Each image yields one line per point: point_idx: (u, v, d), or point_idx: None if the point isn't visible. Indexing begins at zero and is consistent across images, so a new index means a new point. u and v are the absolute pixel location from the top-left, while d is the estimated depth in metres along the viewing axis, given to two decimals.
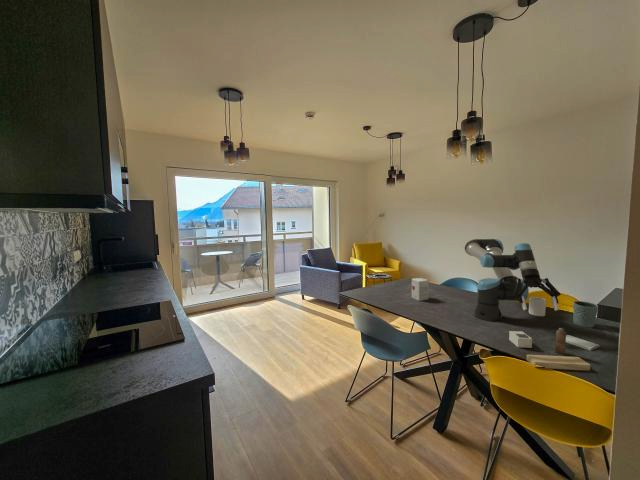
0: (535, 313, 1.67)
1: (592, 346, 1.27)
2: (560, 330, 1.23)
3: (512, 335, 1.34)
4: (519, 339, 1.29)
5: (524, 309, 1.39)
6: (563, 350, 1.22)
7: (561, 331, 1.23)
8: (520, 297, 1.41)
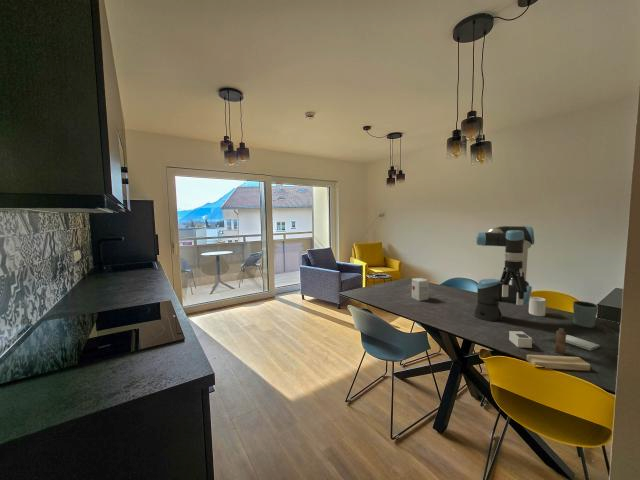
0: (535, 313, 1.67)
1: (592, 346, 1.27)
2: (560, 330, 1.23)
3: (512, 335, 1.34)
4: (519, 339, 1.29)
5: (504, 296, 1.48)
6: (563, 350, 1.22)
7: (561, 331, 1.23)
8: (503, 285, 1.48)
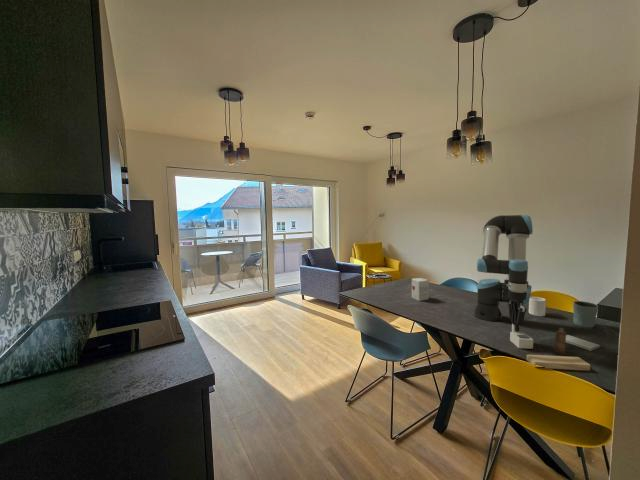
0: (535, 313, 1.67)
1: (592, 346, 1.27)
2: (560, 330, 1.23)
3: (513, 336, 1.33)
4: (520, 340, 1.28)
5: None
6: (563, 350, 1.22)
7: (561, 331, 1.23)
8: None
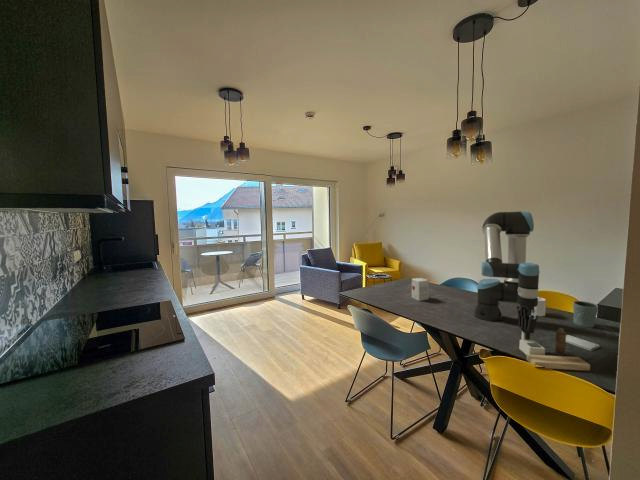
0: (535, 313, 1.67)
1: (592, 346, 1.27)
2: (560, 330, 1.23)
3: (523, 344, 1.25)
4: (531, 349, 1.20)
5: None
6: (563, 350, 1.22)
7: (561, 331, 1.23)
8: (522, 331, 1.29)
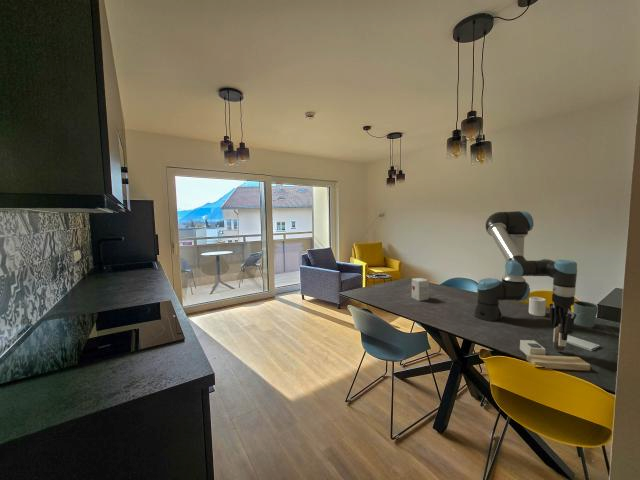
0: (535, 313, 1.67)
1: (593, 346, 1.27)
2: (560, 326, 1.23)
3: (524, 344, 1.24)
4: (531, 349, 1.20)
5: None
6: None
7: None
8: None
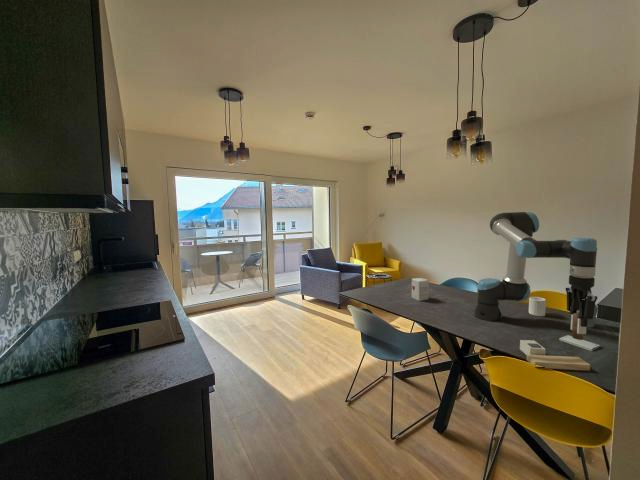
0: (535, 313, 1.67)
1: (593, 346, 1.27)
2: (578, 313, 1.11)
3: (524, 344, 1.24)
4: (531, 349, 1.20)
5: None
6: (581, 334, 1.10)
7: (579, 314, 1.11)
8: (572, 314, 1.14)
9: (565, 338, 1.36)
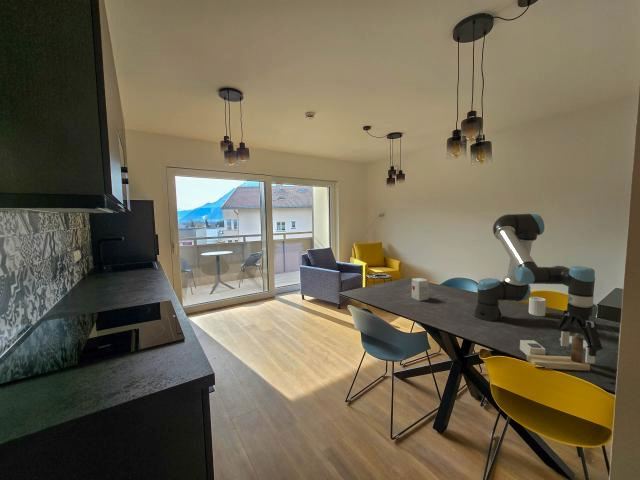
0: (535, 313, 1.67)
1: None
2: (577, 336, 1.12)
3: (524, 344, 1.24)
4: (531, 349, 1.20)
5: None
6: (580, 357, 1.11)
7: (578, 337, 1.12)
8: (562, 331, 1.20)
9: None
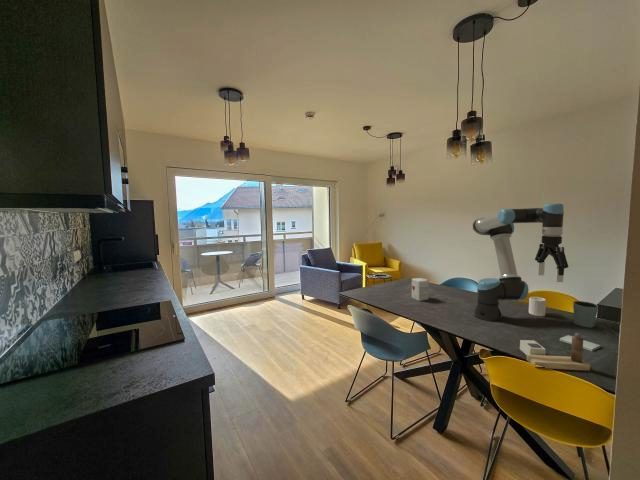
0: (535, 313, 1.67)
1: (593, 347, 1.26)
2: (577, 336, 1.12)
3: (524, 344, 1.24)
4: (531, 349, 1.20)
5: None
6: (580, 357, 1.11)
7: (578, 337, 1.12)
8: None
9: (565, 338, 1.35)
